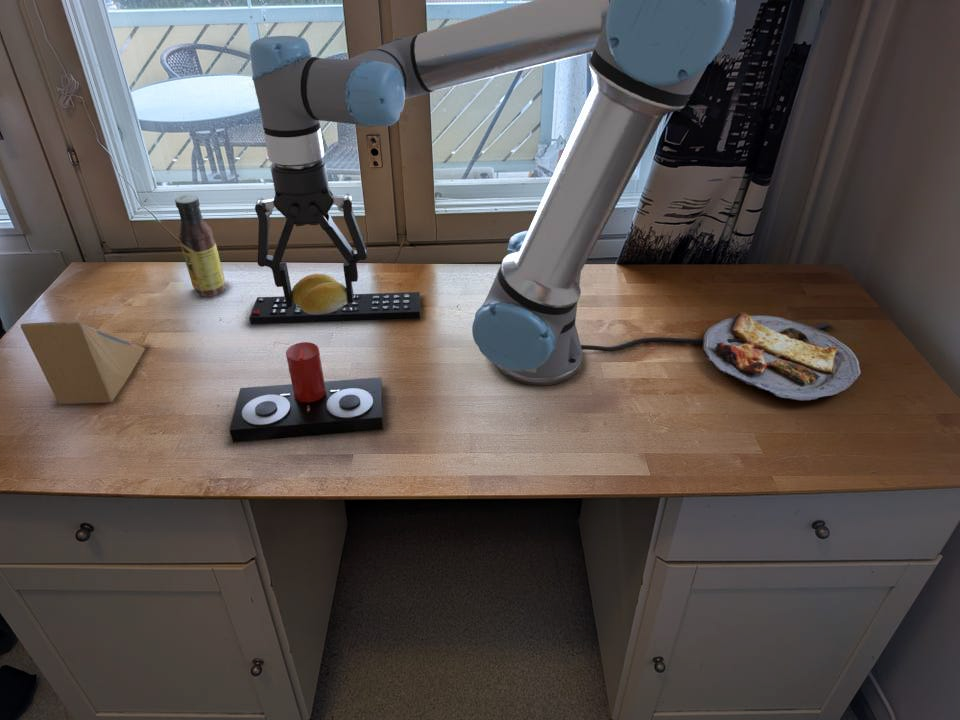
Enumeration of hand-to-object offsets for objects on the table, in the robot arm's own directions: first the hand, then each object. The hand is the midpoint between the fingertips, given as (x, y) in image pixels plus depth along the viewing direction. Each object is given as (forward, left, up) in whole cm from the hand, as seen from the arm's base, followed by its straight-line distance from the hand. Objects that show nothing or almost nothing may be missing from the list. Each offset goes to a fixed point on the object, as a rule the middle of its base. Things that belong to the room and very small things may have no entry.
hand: (320, 300), depth 103 cm
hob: (+2, +12, -13) cm, 18 cm away
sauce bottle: (+25, -30, -13) cm, 41 cm away
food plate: (-77, +8, -13) cm, 78 cm away
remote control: (0, -18, -13) cm, 23 cm away
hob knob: (+2, +10, -10) cm, 15 cm away
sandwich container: (+37, -3, -13) cm, 40 cm away
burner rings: (+2, +14, -11) cm, 17 cm away
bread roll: (0, 0, 0) cm, 0 cm away
